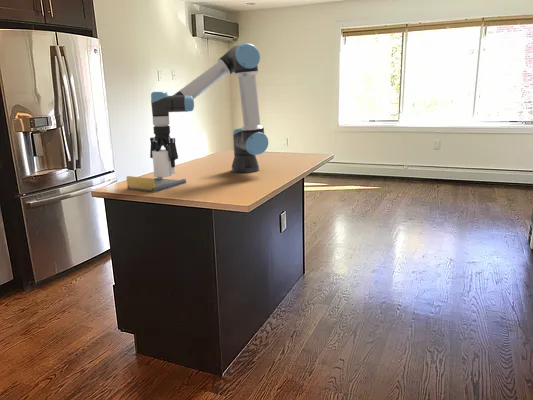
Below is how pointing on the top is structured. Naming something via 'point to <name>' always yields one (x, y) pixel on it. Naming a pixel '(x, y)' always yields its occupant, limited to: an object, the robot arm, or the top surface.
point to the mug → (161, 163)
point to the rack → (151, 183)
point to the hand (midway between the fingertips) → (165, 173)
